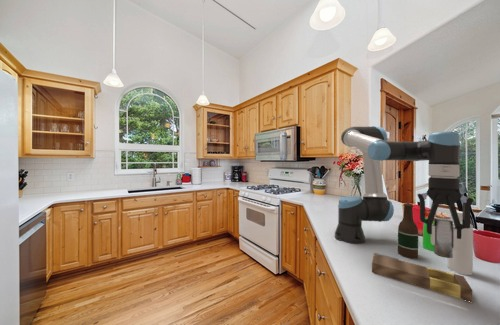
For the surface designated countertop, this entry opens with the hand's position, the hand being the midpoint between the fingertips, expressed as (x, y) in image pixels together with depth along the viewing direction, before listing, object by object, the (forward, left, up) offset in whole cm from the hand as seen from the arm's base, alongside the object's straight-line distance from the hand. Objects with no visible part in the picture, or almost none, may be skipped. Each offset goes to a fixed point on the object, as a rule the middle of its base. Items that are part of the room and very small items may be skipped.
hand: (443, 245), depth 66 cm
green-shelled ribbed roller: (+3, +41, -15) cm, 43 cm away
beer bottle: (-8, +23, -15) cm, 28 cm away
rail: (-7, 0, -15) cm, 16 cm away
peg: (0, 0, -3) cm, 3 cm away
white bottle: (+8, +20, -15) cm, 26 cm away
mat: (-16, +11, -15) cm, 24 cm away
